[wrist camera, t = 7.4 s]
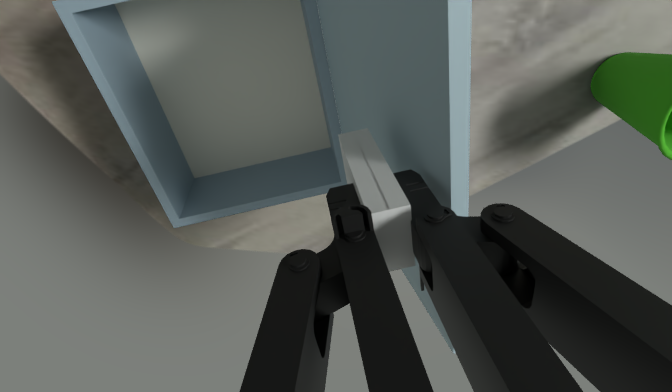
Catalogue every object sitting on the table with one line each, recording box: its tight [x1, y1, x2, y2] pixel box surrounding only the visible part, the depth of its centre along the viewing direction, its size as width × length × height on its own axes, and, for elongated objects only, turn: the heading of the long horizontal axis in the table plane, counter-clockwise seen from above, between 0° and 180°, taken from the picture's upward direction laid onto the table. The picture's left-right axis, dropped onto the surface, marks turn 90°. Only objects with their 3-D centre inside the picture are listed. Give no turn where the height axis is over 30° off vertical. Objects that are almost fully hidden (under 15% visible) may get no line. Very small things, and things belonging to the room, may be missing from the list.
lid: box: [317, 0, 472, 353], centre depth 21 cm, size 18×17×1 cm
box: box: [52, 0, 347, 228], centre depth 31 cm, size 18×16×8 cm
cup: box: [591, 52, 672, 160], centre depth 35 cm, size 9×9×11 cm
